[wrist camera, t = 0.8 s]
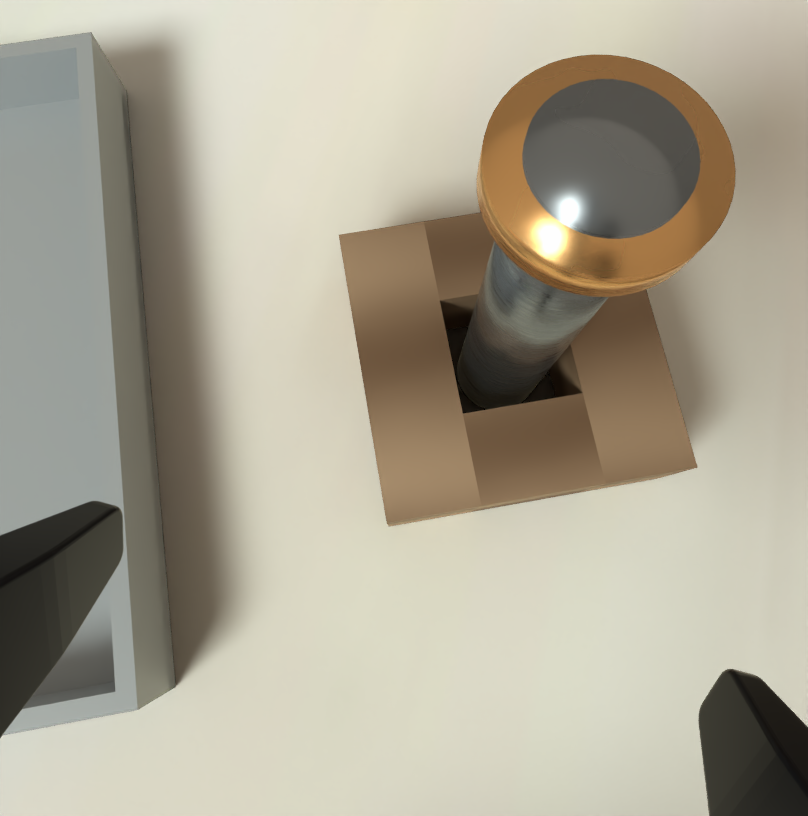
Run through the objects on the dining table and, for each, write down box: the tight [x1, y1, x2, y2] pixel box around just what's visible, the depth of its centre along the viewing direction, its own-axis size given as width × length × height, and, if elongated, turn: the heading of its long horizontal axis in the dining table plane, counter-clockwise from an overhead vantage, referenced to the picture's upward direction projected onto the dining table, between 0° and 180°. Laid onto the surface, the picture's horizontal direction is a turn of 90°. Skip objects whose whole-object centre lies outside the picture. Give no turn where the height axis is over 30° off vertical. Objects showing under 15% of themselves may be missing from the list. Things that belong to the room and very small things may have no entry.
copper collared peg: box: [457, 55, 735, 409], centre depth 17 cm, size 4×4×13 cm
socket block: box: [339, 213, 697, 526], centre depth 21 cm, size 10×10×3 cm
